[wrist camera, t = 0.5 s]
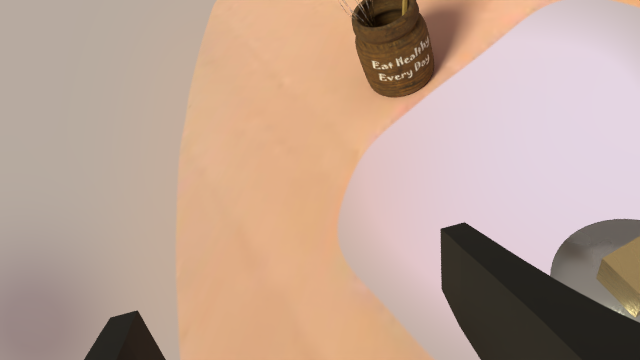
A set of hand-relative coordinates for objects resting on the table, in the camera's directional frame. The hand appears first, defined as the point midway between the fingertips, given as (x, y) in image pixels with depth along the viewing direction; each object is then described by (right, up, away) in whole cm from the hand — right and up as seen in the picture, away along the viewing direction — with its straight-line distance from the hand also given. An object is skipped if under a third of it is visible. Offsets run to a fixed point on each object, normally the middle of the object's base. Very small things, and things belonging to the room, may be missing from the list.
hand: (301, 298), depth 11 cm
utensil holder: (+8, +12, +29) cm, 32 cm away
